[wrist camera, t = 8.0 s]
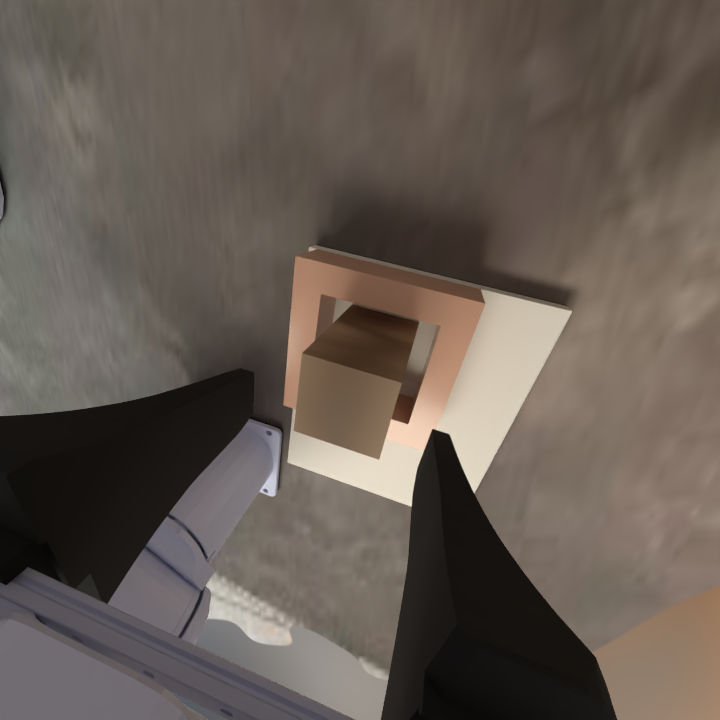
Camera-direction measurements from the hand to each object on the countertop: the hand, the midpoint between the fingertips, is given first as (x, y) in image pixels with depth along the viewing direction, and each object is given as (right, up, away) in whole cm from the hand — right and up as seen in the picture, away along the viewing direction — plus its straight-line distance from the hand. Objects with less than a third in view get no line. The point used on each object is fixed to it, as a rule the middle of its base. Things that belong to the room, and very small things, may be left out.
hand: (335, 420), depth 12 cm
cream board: (+3, 0, +9) cm, 10 cm away
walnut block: (+2, +3, +7) cm, 8 cm away
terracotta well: (+2, +3, +7) cm, 8 cm away
